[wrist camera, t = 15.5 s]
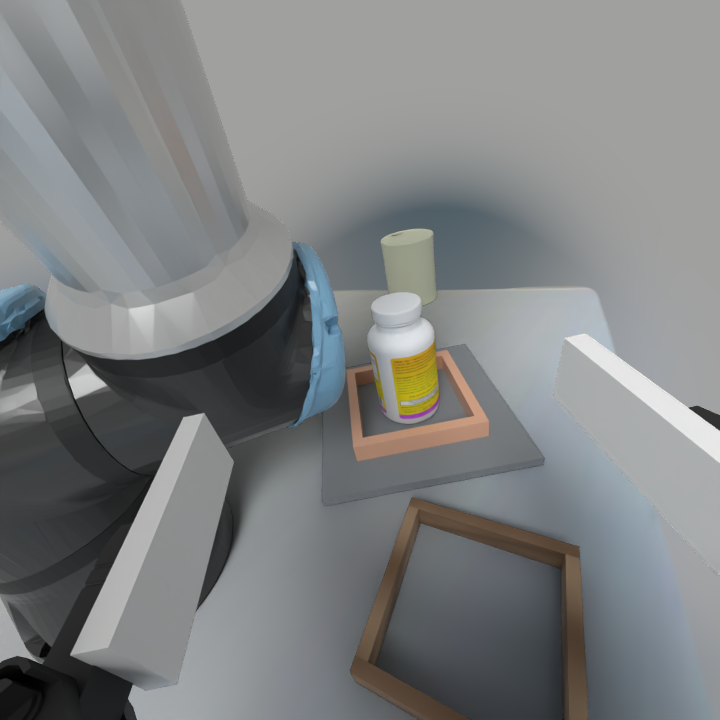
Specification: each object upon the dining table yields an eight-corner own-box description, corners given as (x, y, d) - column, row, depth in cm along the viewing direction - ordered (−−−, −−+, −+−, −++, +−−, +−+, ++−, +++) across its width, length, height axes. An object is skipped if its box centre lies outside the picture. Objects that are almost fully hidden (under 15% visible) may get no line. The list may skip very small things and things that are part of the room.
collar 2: (584, 819, 15) (593, 815, 14) (356, 682, 20) (349, 671, 19) (574, 561, 23) (579, 546, 22) (413, 511, 28) (411, 497, 27)
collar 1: (488, 436, 32) (489, 421, 31) (357, 461, 33) (353, 447, 31) (447, 362, 43) (447, 349, 42) (349, 382, 43) (346, 370, 42)
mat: (543, 464, 30) (544, 457, 29) (324, 506, 30) (321, 499, 30) (465, 349, 46) (465, 343, 46) (325, 378, 47) (323, 372, 47)
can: (414, 284, 69) (408, 224, 63) (447, 294, 62) (445, 228, 56) (379, 300, 66) (369, 238, 59) (410, 313, 59) (403, 244, 52)
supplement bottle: (451, 398, 37) (446, 292, 30) (418, 436, 34) (404, 325, 27) (402, 380, 42) (389, 284, 35) (369, 412, 38) (345, 311, 31)
